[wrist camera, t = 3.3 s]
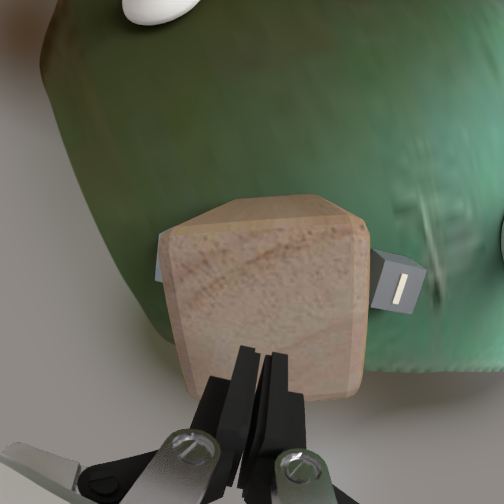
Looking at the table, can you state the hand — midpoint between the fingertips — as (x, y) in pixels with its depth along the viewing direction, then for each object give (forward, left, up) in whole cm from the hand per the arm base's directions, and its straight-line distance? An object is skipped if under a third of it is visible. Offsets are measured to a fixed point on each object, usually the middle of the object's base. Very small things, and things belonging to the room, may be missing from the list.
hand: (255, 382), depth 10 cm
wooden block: (0, 0, -24) cm, 24 cm away
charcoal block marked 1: (-13, +1, -24) cm, 27 cm away
